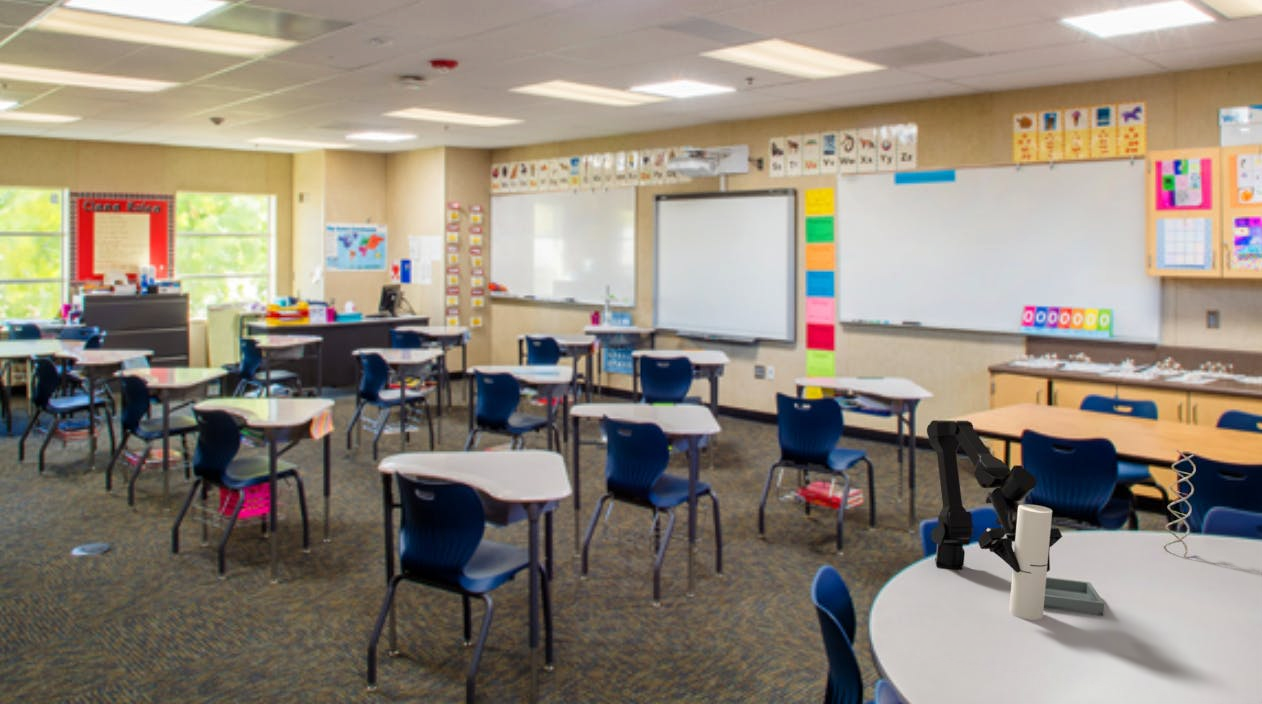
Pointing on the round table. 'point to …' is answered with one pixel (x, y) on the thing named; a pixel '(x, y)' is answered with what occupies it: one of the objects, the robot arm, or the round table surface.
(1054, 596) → the tray
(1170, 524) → the dna model
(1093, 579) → the round table surface
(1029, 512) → the cylindrical container
